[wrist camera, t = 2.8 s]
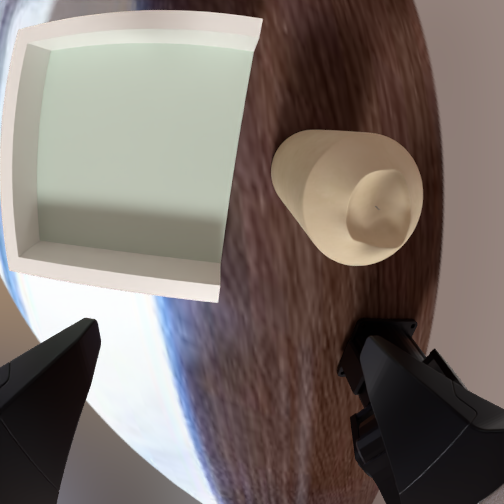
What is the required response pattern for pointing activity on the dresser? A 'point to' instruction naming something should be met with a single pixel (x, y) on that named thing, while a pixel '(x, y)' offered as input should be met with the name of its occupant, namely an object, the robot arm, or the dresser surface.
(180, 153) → the box
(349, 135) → the candle
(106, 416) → the dresser surface
